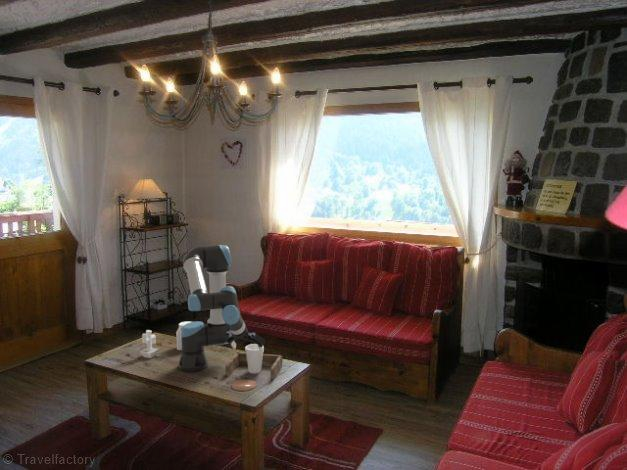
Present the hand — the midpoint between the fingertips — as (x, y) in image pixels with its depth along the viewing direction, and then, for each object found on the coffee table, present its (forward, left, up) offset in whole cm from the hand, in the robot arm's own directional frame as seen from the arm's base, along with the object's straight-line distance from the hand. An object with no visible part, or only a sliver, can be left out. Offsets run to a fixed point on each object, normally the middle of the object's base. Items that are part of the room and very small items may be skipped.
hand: (248, 348), depth 251 cm
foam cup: (-11, 0, -17) cm, 20 cm away
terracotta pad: (+7, 0, -16) cm, 18 cm away
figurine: (-20, -64, -17) cm, 69 cm away
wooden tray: (-11, 0, -16) cm, 20 cm away
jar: (-36, -49, -17) cm, 63 cm away
